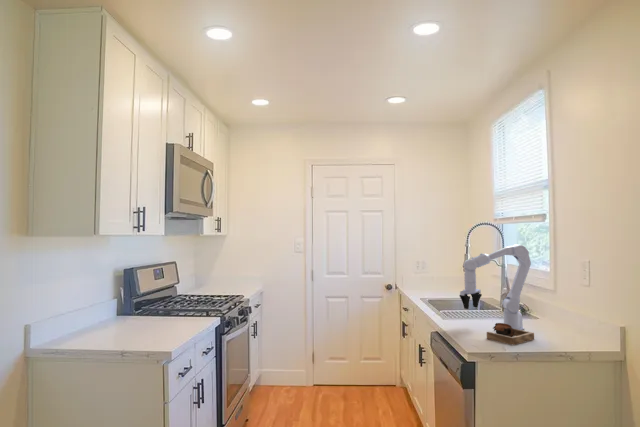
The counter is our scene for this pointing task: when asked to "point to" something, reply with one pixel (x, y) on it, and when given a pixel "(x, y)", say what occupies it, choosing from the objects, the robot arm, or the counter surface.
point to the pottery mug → (504, 329)
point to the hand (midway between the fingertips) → (470, 307)
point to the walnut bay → (518, 337)
